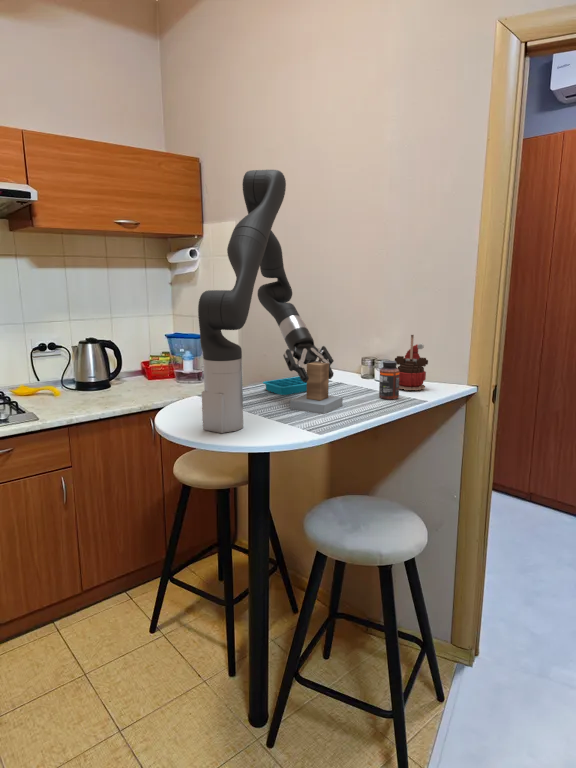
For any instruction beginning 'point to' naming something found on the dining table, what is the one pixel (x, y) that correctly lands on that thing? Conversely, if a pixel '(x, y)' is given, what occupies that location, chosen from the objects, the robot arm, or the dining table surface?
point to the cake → (412, 368)
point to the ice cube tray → (286, 386)
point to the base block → (316, 404)
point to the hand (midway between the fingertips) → (319, 379)
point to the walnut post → (317, 380)
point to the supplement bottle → (389, 381)
